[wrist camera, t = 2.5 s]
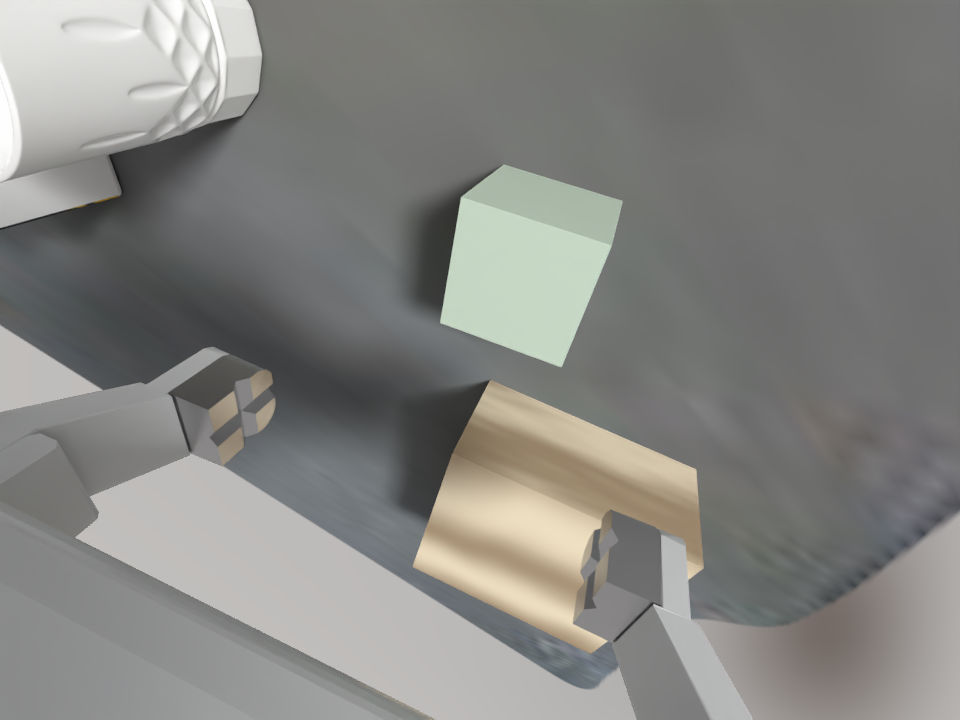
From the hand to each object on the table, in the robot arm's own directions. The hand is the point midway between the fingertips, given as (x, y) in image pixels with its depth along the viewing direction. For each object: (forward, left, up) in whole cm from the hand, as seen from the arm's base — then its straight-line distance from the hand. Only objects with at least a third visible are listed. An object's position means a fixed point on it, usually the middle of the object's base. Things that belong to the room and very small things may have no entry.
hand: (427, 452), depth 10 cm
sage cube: (-1, 0, -13) cm, 13 cm away
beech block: (+14, +5, -13) cm, 20 cm away
